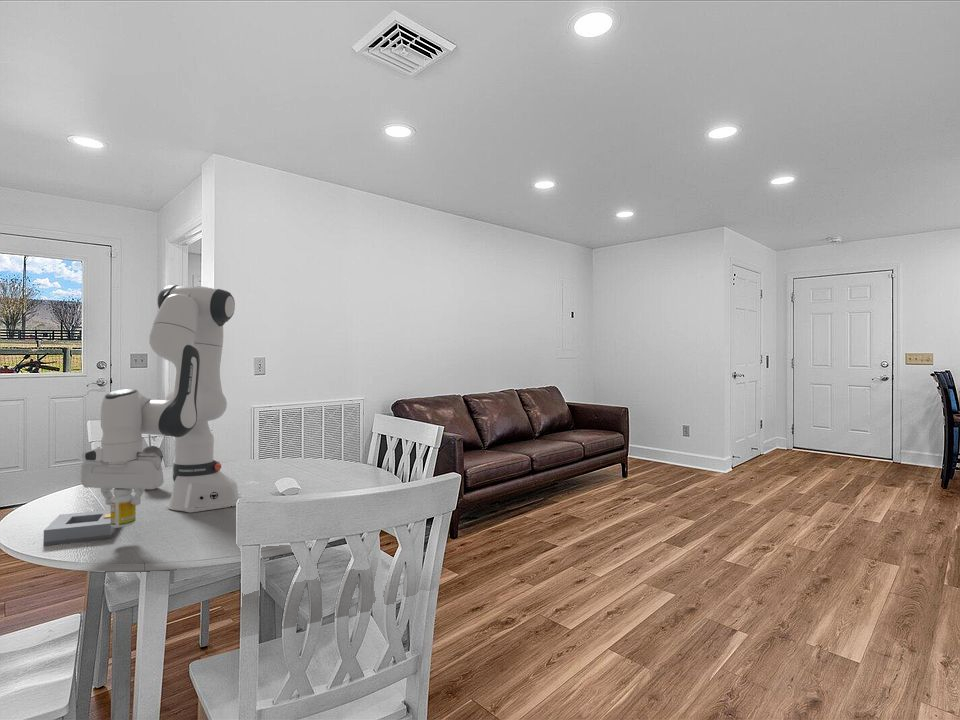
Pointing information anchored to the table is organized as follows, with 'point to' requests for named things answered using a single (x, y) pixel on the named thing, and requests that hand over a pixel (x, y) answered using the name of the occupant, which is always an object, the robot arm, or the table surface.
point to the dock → (79, 528)
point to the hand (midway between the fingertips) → (123, 504)
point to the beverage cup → (153, 450)
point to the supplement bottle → (122, 508)
